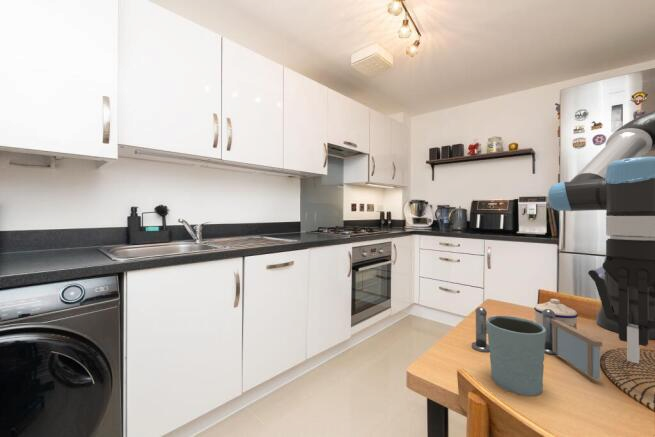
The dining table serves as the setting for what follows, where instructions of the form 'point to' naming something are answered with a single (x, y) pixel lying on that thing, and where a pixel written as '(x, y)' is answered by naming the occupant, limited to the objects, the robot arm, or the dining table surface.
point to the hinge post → (548, 330)
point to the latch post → (481, 331)
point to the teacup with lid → (556, 313)
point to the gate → (577, 348)
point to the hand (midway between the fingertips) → (633, 359)
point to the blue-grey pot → (517, 354)
